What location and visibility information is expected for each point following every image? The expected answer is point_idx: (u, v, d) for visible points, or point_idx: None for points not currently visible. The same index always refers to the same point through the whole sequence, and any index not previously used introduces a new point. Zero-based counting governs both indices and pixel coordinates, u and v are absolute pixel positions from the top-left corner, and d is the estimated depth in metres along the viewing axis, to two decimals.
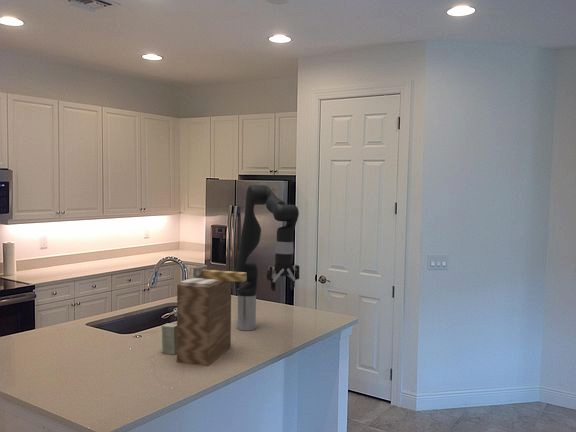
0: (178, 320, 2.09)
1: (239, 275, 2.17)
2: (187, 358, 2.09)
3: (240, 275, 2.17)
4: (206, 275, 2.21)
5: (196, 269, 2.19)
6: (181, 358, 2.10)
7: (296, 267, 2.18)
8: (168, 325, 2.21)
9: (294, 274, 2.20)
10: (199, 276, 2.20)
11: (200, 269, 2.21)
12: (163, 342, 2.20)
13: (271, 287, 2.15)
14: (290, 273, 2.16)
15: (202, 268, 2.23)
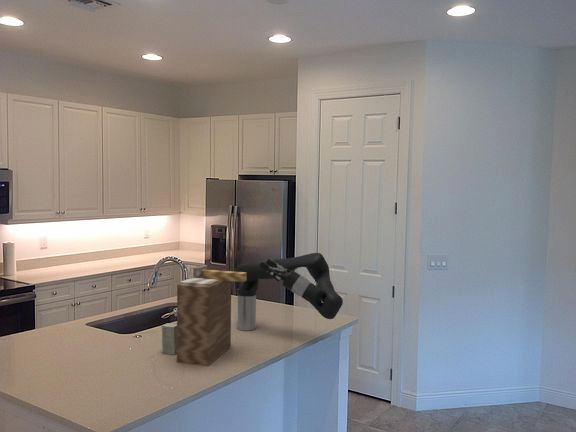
0: (178, 320, 2.09)
1: (239, 275, 2.17)
2: (187, 358, 2.09)
3: (240, 275, 2.17)
4: (206, 275, 2.21)
5: (196, 269, 2.19)
6: (181, 358, 2.10)
7: None
8: (168, 325, 2.21)
9: (281, 266, 2.16)
10: (199, 276, 2.20)
11: (200, 269, 2.21)
12: (163, 342, 2.20)
13: (262, 265, 2.06)
14: None
15: (202, 268, 2.23)
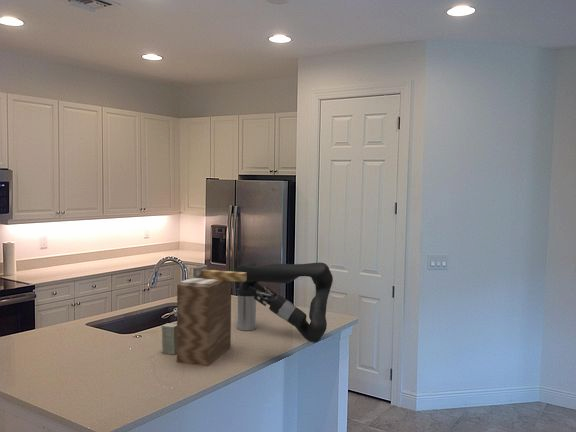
0: (178, 320, 2.09)
1: (239, 275, 2.17)
2: (187, 358, 2.09)
3: (240, 275, 2.17)
4: (206, 275, 2.21)
5: (196, 269, 2.19)
6: (181, 358, 2.10)
7: None
8: (168, 325, 2.21)
9: (268, 289, 2.22)
10: (199, 276, 2.20)
11: (200, 269, 2.21)
12: (163, 342, 2.20)
13: (250, 290, 2.13)
14: None
15: (202, 268, 2.23)
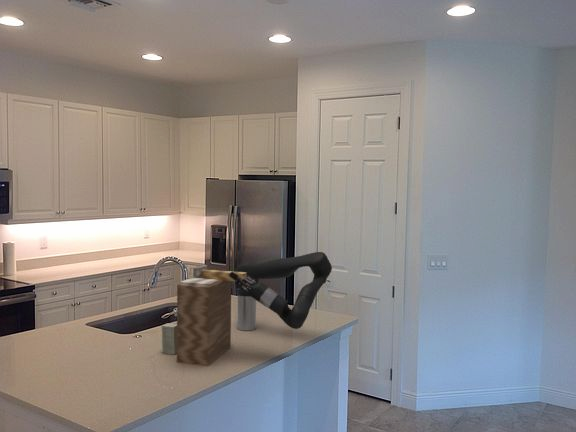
0: (178, 320, 2.09)
1: (239, 275, 2.17)
2: (187, 358, 2.09)
3: (240, 275, 2.17)
4: (206, 275, 2.21)
5: (196, 269, 2.19)
6: (181, 358, 2.10)
7: None
8: (168, 325, 2.21)
9: (248, 277, 2.23)
10: (199, 276, 2.20)
11: (200, 269, 2.21)
12: (163, 342, 2.20)
13: (232, 275, 2.17)
14: None
15: (202, 268, 2.23)
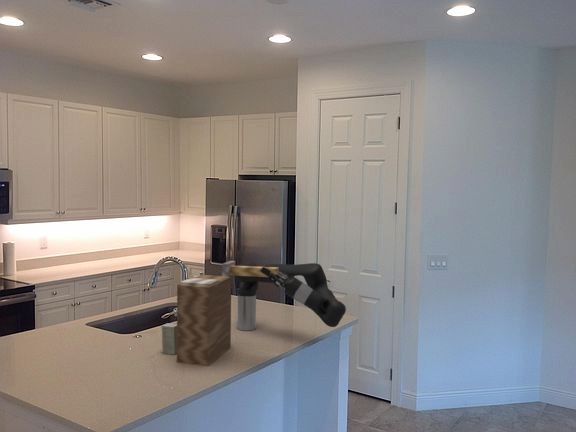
0: (178, 320, 2.09)
1: (271, 270, 2.06)
2: (187, 358, 2.09)
3: (272, 270, 2.06)
4: (236, 271, 2.09)
5: (225, 265, 2.07)
6: (181, 358, 2.10)
7: None
8: (168, 325, 2.21)
9: (280, 272, 2.11)
10: (228, 272, 2.09)
11: (229, 265, 2.09)
12: (163, 342, 2.20)
13: (264, 270, 2.05)
14: None
15: (231, 264, 2.11)
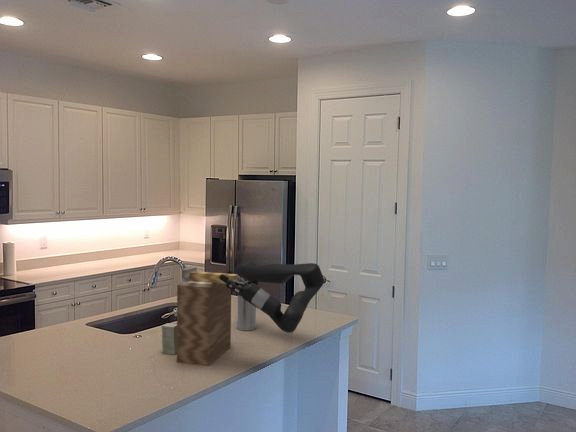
0: (178, 320, 2.09)
1: (230, 277, 2.07)
2: (187, 358, 2.09)
3: (231, 277, 2.07)
4: (195, 277, 2.11)
5: (185, 271, 2.09)
6: (181, 358, 2.10)
7: None
8: (168, 325, 2.21)
9: (242, 277, 2.14)
10: (188, 278, 2.10)
11: (189, 271, 2.11)
12: (163, 342, 2.20)
13: (222, 277, 2.05)
14: None
15: (191, 270, 2.13)
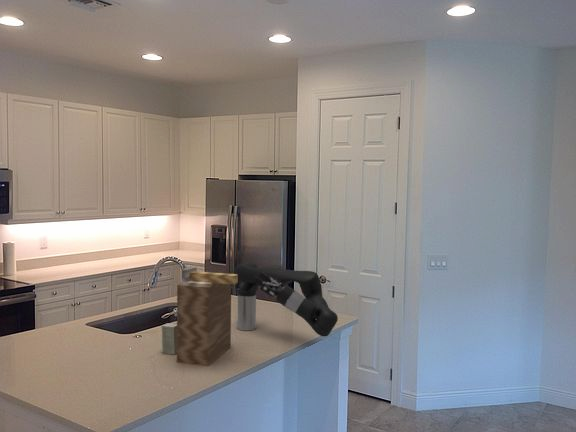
0: (178, 320, 2.09)
1: (230, 277, 2.07)
2: (187, 358, 2.09)
3: (231, 277, 2.07)
4: (195, 277, 2.11)
5: (185, 271, 2.09)
6: (181, 358, 2.10)
7: None
8: (168, 325, 2.21)
9: (275, 280, 2.10)
10: (188, 278, 2.10)
11: (189, 271, 2.11)
12: (163, 342, 2.20)
13: (256, 280, 2.01)
14: None
15: (191, 270, 2.13)
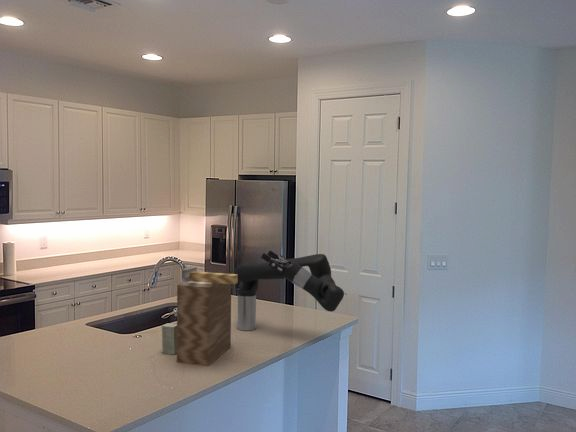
0: (178, 320, 2.09)
1: (230, 277, 2.07)
2: (187, 358, 2.09)
3: (231, 277, 2.07)
4: (195, 277, 2.11)
5: (185, 271, 2.09)
6: (181, 358, 2.10)
7: None
8: (168, 325, 2.21)
9: (283, 257, 2.16)
10: (188, 278, 2.10)
11: (189, 271, 2.11)
12: (163, 342, 2.20)
13: (264, 256, 2.06)
14: None
15: (191, 270, 2.13)
